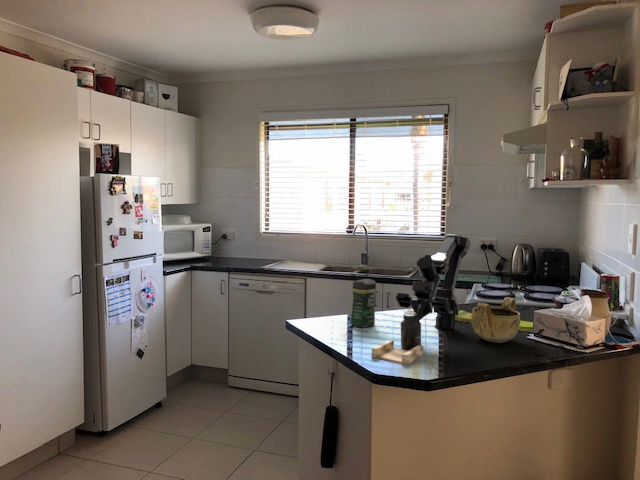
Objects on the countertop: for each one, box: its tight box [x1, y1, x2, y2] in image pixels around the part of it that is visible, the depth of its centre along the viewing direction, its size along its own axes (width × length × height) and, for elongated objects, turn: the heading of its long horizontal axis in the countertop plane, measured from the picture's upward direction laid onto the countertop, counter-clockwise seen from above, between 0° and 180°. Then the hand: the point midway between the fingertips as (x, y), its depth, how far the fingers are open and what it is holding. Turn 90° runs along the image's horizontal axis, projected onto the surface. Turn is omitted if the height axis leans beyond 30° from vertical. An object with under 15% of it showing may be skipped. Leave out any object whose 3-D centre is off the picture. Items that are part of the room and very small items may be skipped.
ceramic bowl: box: [471, 296, 521, 344], centre depth 189 cm, size 22×17×15 cm
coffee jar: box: [350, 278, 377, 328], centre depth 207 cm, size 10×8×19 cm
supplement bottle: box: [400, 311, 422, 351], centre depth 177 cm, size 7×7×12 cm
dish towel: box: [455, 309, 534, 332], centre depth 216 cm, size 15×36×3 cm, turn 54°
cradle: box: [371, 339, 424, 366], centre depth 169 cm, size 13×12×3 cm
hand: (415, 321), depth 179 cm, fingers closed, pressing on supplement bottle
